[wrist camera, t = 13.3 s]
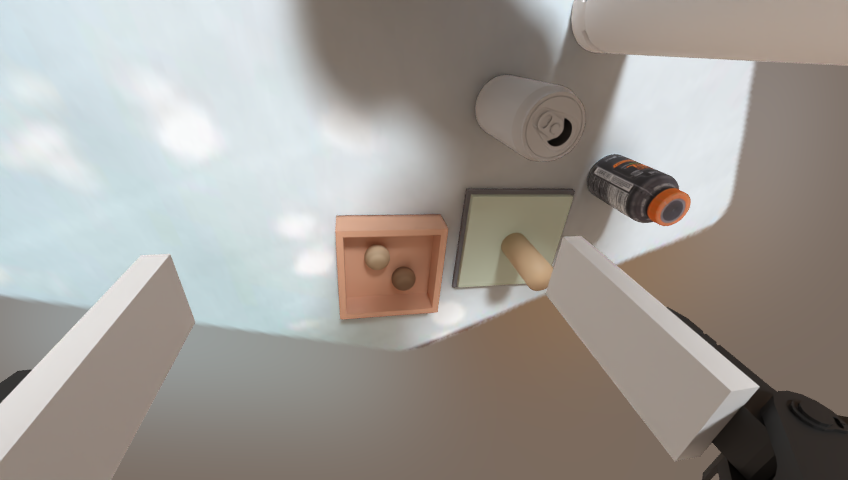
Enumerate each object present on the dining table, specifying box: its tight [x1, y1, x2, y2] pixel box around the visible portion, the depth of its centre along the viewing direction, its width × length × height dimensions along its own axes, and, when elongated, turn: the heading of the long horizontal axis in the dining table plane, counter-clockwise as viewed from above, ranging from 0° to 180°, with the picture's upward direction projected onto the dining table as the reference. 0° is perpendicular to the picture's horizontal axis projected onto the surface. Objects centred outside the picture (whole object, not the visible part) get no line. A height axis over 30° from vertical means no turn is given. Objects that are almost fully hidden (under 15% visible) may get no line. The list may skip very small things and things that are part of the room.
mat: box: [452, 189, 575, 287], centre depth 48 cm, size 15×15×1 cm
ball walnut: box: [391, 267, 416, 291], centre depth 45 cm, size 3×3×3 cm
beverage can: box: [475, 75, 586, 161], centre depth 33 cm, size 6×6×12 cm
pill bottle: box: [587, 154, 690, 226], centre depth 41 cm, size 6×6×11 cm
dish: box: [335, 214, 448, 319], centre depth 44 cm, size 13×13×4 cm
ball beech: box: [364, 245, 390, 270], centre depth 43 cm, size 3×3×3 cm
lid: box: [457, 194, 573, 291], centre depth 44 cm, size 14×14×9 cm
